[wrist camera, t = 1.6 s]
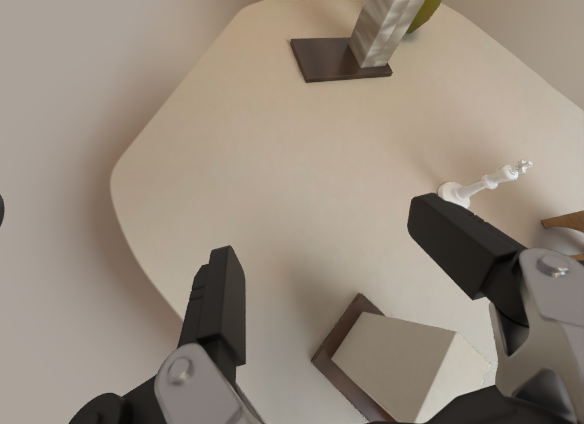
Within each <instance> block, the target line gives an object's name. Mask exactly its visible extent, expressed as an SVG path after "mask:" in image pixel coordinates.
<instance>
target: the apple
mask: <svg viewBox="0 0 584 424" xmlns="http://www.w3.org/2000/svg"><path fill="white" fill-rule="evenodd" d="M440 3H441V0H425V1H424V3H423V5H422V6H421V8H420V9H419V11H418V13H417V14H416V16H415V18H414V19H413V21H412V23H411V24H410V26H409V28H408V29H407V31H406V32H405V33H411V32H413V31H415V30H416V29H417V28H419V27H420V26H421V25H423V24H424V23H425V22H427V21H428V20H429V19H430V17H431V16H432V15H433V13H434V12H435V10H436V9H437V8H438V6H439V5H440Z"/></svg>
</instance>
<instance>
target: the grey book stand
mask: <svg viewBox="0 0 584 424" xmlns="http://www.w3.org/2000/svg"><path fill="white" fill-rule="evenodd" d="M362 312H367V313H372V314H376V315H381V316H385V315H384V314H383V313H382V312H381V311H380V310H379V309H378V308H376V307H375V306H374V305H373V304H372V303H371V302H370V301H369V300H368V299H367V298H366V297H365V296H364V295H363V294H362V293H358V295H357V296H356V298H355V299H354V301H353V302H352V303H351V305H350V306H349V308H348V309H347V310H346V312H345V313H344V315H343V316H342V318H341V319H340V320H339V322H338V323H337V325H336V326H335V328H334V329H333V330H332V332H331V333H330V335H329V336H328V337H327V339H326V340H325V342H324V343H323V345H322V346H321V347H320V349H319V350H318V352H317V353H316V355H315V356H314V357H313V359H312V360H311V362H312V363H313V364H314V365H315V366H316V367H317V368H318V369H319V370H320V371H321V372H322V373H323V374H324V376H325V377H326V378H327V379H328V380H329V381H330V382H331V383H332V384H333V385H334V386H335V387H336V388H337V389H338V390H339V391H340V392H341V393H342V394H343V395H344V396H345V397H346V398H347V399H348V400H349V401H350V402H351V403H352V404H353V405H354V406H355V407H356V408H357V409H358V410H359V411H360V412H361V413H362V414H363V415H364V416H365V417H366V418H367V419H368V420H369V422H374V421H388V422H397V421H396V420H395V419H394V418H393V417H392V416H391V415H390V414H388V413H387V412H386V411H385V410H384V409H383V408H382V407H381V406H380V405H379V404H377V403H376V402H375V401H374V400H373V399H372V398H371V397H370V396H369V395H368V394H367V393H365V392H364V391H363V390H362V389H361V388H360V387H359V386H358V385H357V384H356V383H354V382H353V381H352V380H351V379H350V378H349V377H348V376H347V375H346V374H345V373H344V372H343V371H342V370H341V369H340V368H339V367H338V366H337V365H336V364H335V363H334V362H333V361H332V360H331V358H332V357H333V355H334V354H335V352H336V351H337V349H338V348H339V346H340V345H341V343H342V342H343V340H344V339H345V337H346V336H347V334H348V333H349V331H350V330H351V328H352V327H353V325H354V324H355V322H356V321H357V320H358V318H359V317H360V315H361V314H362Z"/></svg>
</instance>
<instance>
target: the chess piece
mask: <svg viewBox="0 0 584 424" xmlns="http://www.w3.org/2000/svg"><path fill="white" fill-rule="evenodd" d="M530 166H532V162H530V161H527V162H525V161H524V160H520V161H518V166H516V167H512V166H510V165H504V166H503V167H501V168H500V169H499V170H498V171H497V172H496V173H495V174H494V175H491V174H485V175H483V176H482V181H480V182H477V183H474V184H471V185H468V186H465V187H462V186H461V185H459V184H457V183H454V182H448V183H445V184H442V185H441V186H440V187H439V189H438V196H439V197H441V198H442V199H444V200H445V201H450V202H452V203H455V204H458V205H461V206H463V207H465V208H466V209H468V207H469V205H470V196H471V195H473V194H475V193H476V192H478V191H480V190H482V189H484V188H486V187H487V188H489V189H495V188H496V187H497V186H498V182H505V181H513V180H516V179H517V177H518V173H519V174H521V175H522V174H524V173H526V168H528V167H530ZM517 172H518V173H517Z"/></svg>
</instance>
